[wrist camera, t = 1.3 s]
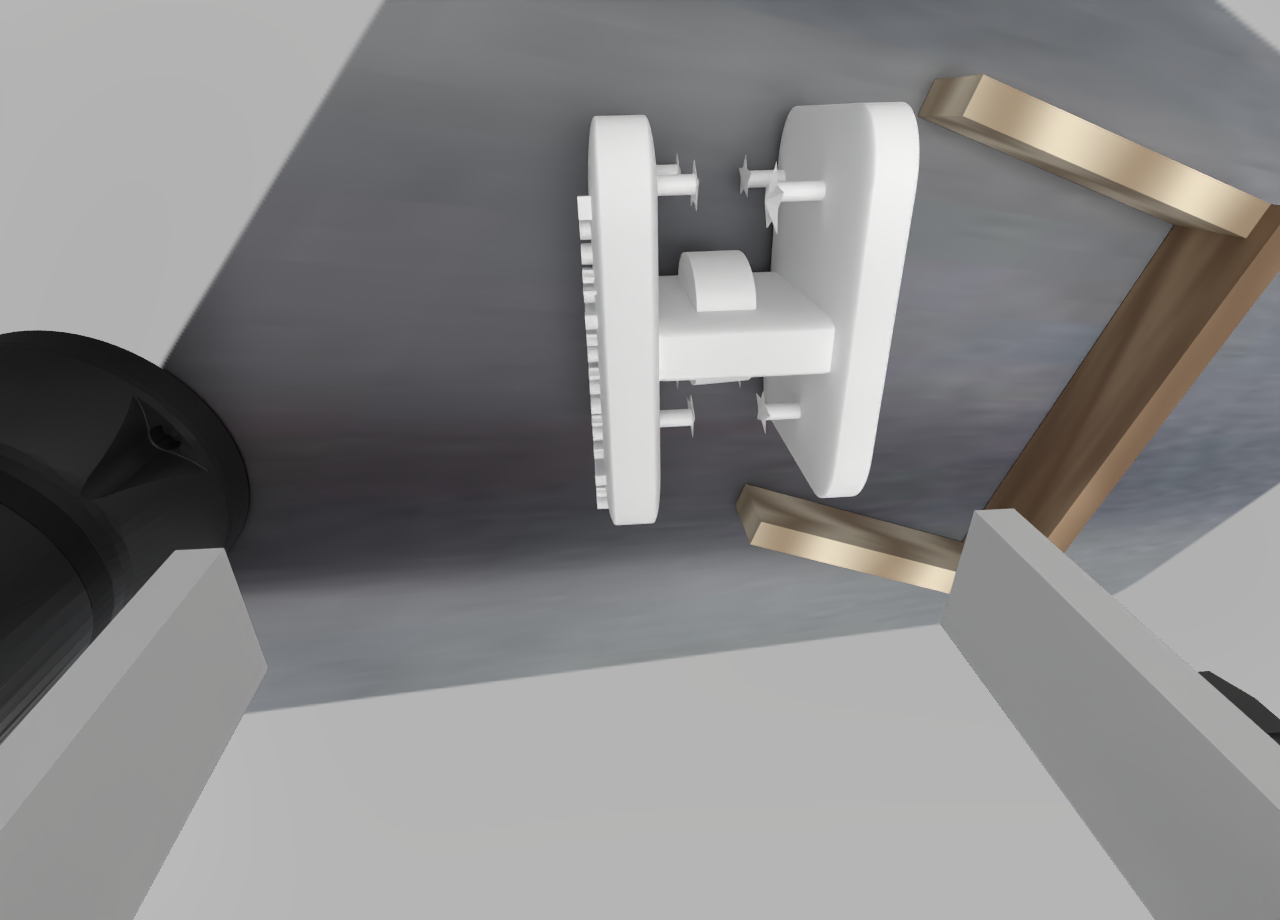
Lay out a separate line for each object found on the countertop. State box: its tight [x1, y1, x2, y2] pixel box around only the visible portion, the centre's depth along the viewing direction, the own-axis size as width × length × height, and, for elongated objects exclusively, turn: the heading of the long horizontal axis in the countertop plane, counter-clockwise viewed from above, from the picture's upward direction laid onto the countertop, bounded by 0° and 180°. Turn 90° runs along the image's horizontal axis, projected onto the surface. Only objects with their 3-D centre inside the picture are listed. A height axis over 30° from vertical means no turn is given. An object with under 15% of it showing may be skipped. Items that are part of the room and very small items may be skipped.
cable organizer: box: [577, 102, 919, 525], centre depth 27 cm, size 15×11×12 cm
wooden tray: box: [736, 75, 1280, 594], centre depth 33 cm, size 16×23×5 cm
